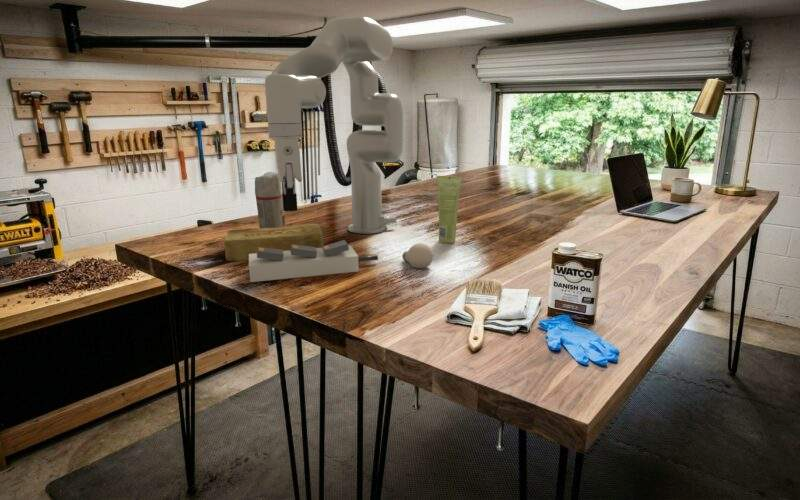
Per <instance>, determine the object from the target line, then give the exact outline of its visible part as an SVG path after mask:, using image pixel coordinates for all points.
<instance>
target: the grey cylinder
mask: <svg viewBox="0 0 800 500" xmlns="http://www.w3.org/2000/svg"><path fill="white" fill-rule="evenodd" d="M282 194H283V187H282V182H281V181H280V179H279V176H278V172H274V171H268V172H266V173H264V174H262V175H260V176H255V178H254V195H255V200H256V201H255V202H256V209H257V218H258V224H259V225H258V227H259V229H261V228H279V227H285V226H286V216H285V211H284V210H283V198H282Z"/></svg>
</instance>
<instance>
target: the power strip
mask: <svg viewBox="0 0 800 500" xmlns="http://www.w3.org/2000/svg"><path fill="white" fill-rule="evenodd" d="M348 248H349V250H347V251H344V252H340V253H337V254H334V255H330V256H327V257H325V254H324V252H323V249H322V248H316V250H317V255H316V258H314V257H305V256H296V255H291V252H290V250H289V251H283V254H284V255H283V261H280V260H271V259H261V258H257V253H254V254H249V260H248V271H249V281H250V283H256V282H265V281H266V282H267V281H275V280H276V281H277V280H287V279H295V278H297V279H298V278H306V277H317V276H327V275H334V274H336V275H337V274H346V273H355V272H356V273H357V272H359V271H360V270H359V262H370V261H371V262H372V261H378V260H379V256H378V255H377V254H375V255H367V256H359V255H358V254H357V252H356V250H355V249H354V248H353V246H352V245H350V244H349V245H348Z"/></svg>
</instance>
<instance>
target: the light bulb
mask: <svg viewBox="0 0 800 500" xmlns="http://www.w3.org/2000/svg"><path fill="white" fill-rule="evenodd" d="M433 253H434V252H433V250H432V248H431V247H430V246H429V245H428V244H426V243H422V242H417V243H415V244H413V245H411V247H409V249H408V250H406V251H404V252H403V253H402V259H403V261H404V262H408V263H409V264H410V265H411V266H412V267H414V268H415V269H418V270H422V269H425V268H428V267H429V266H430V265H431V264H432V262H433V259H434V254H433Z"/></svg>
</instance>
